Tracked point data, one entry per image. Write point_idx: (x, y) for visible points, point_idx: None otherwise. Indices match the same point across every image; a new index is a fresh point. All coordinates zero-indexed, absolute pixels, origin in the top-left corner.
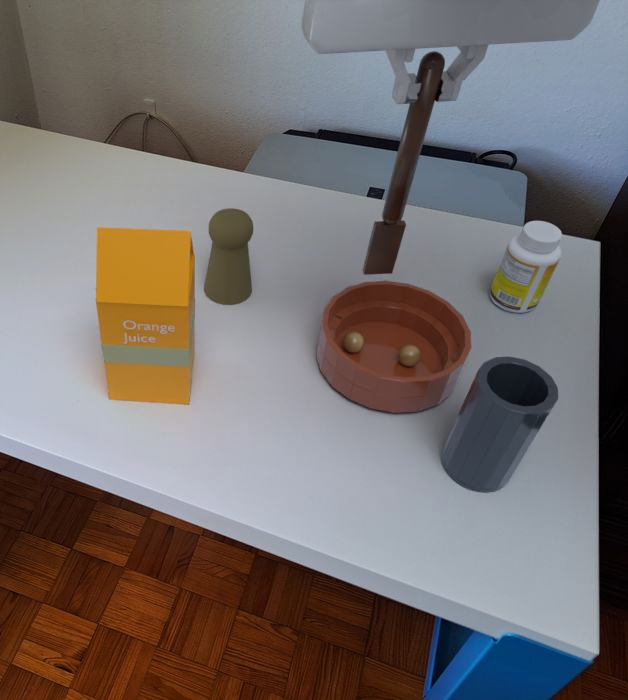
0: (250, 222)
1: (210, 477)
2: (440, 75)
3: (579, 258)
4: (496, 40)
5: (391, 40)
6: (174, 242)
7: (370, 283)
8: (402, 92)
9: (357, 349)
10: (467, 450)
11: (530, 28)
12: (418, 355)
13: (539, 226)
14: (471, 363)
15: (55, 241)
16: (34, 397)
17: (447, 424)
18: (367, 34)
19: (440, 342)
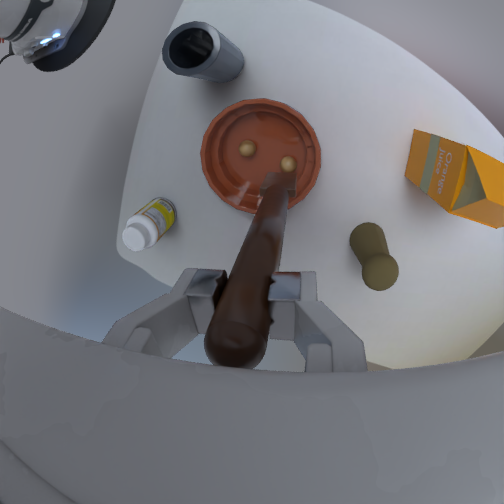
0: (368, 272)
1: (404, 68)
2: (218, 311)
3: (122, 246)
4: (74, 342)
5: (424, 393)
6: (493, 193)
7: None
8: (313, 286)
9: (287, 156)
10: (232, 43)
11: (17, 340)
12: (241, 144)
13: (134, 244)
14: None
15: (455, 294)
16: None
17: (231, 93)
18: (499, 396)
19: (220, 160)
